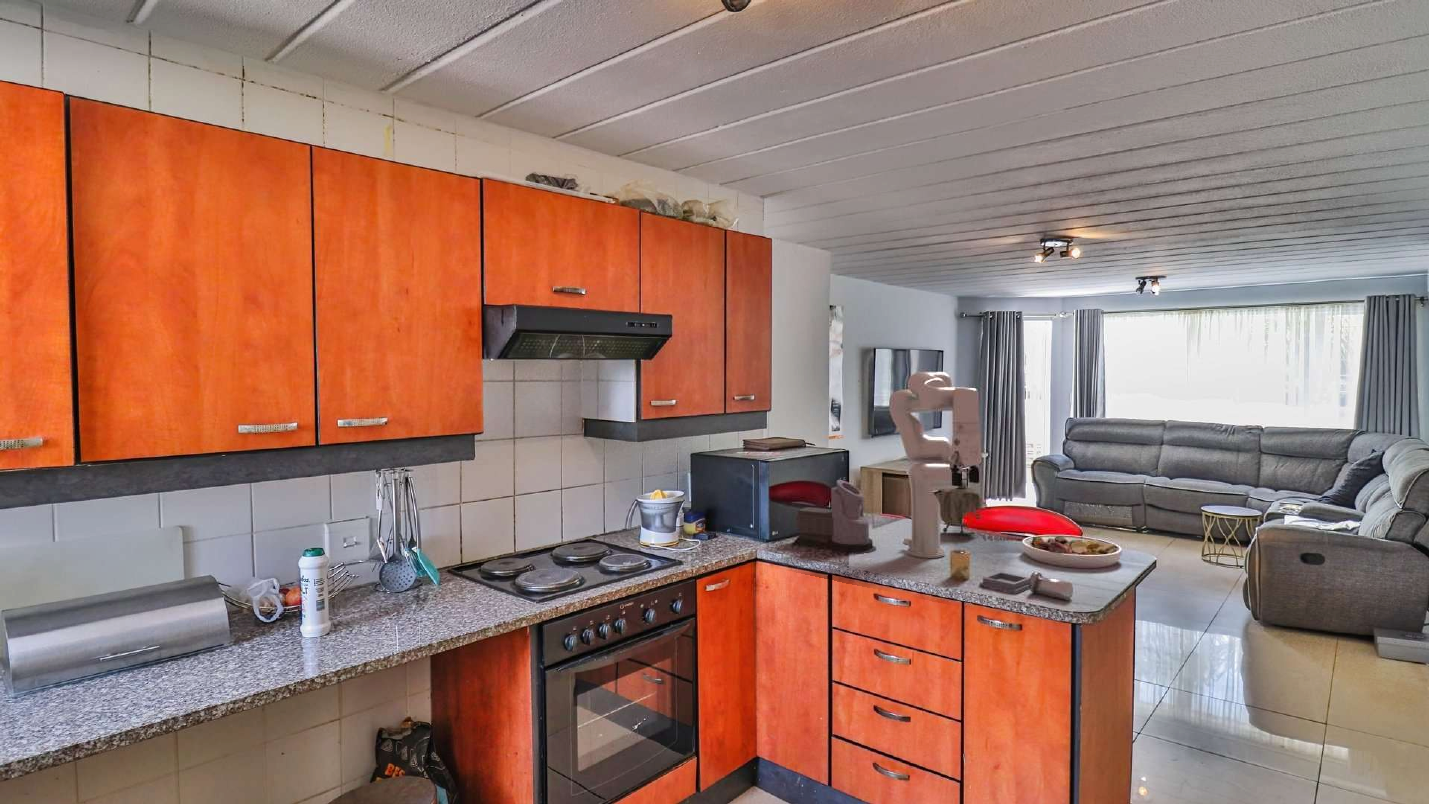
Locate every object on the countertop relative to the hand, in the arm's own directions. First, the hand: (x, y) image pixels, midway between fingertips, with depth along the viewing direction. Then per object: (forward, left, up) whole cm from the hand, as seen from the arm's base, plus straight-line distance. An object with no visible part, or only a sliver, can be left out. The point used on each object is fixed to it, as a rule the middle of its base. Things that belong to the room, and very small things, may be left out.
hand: (965, 484), depth 226 cm
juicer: (-54, +3, -29) cm, 61 cm away
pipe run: (+26, 0, -29) cm, 39 cm away
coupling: (-1, -2, -29) cm, 29 cm away
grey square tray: (+13, 0, -29) cm, 32 cm away
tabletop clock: (-34, +53, -29) cm, 69 cm away
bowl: (+11, +46, -29) cm, 55 cm away
